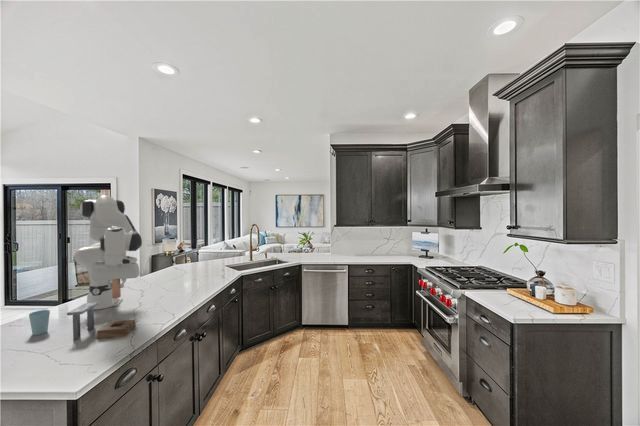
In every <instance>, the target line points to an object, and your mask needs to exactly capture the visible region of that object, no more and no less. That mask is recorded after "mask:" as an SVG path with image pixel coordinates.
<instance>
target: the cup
mask: <svg viewBox="0 0 640 426" xmlns="http://www.w3.org/2000/svg"><path fill="white" fill-rule="evenodd" d="M50 313H51V310H50V309H43V310H42V309H40V310H37V311H32V312H30V313H29V314H28V318H29V322H30V328H31V332H32V335H33V336H39V335H43V334H46V333H47V332H48V329H49V321H50Z"/></svg>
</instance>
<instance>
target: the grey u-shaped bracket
mask: <svg viewBox="0 0 640 426" xmlns="http://www.w3.org/2000/svg"><path fill="white" fill-rule="evenodd" d="M97 305H98V302H95V303H87V302H85V303H82V304H81V305H79V306H77V307H75V308H74V309H72V310H70V311H68V312H66V316H72V339H73V341H75V340H76V341H78V340H79V339H81V336H82V335H81V315H83V314H85V313H87V314H86V317H87V319H86V321H87V323H86V324H87V331H91V330H93V329H95V319H94V318H95V310H94V307H95V306H97Z"/></svg>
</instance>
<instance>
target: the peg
mask: <svg viewBox="0 0 640 426" xmlns="http://www.w3.org/2000/svg"><path fill="white" fill-rule="evenodd" d="M111 282H112V298H122V294H121V290H122V288H119V287H120V286H119V285H120V284H121V279H112V280H111Z"/></svg>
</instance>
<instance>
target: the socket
mask: <svg viewBox="0 0 640 426" xmlns="http://www.w3.org/2000/svg"><path fill="white" fill-rule="evenodd" d="M136 322H137V321H136V319H126V320H115V321H113V320H112V321H108V322H107V323H106V324H104V325H103V326H102V327H100V328H98V329H97V330H96V334H97V335H96V336H97V340H104V339H115V338H123V337H124V338H125V337H127V336H129V334H130V333H131V332H132V331H133V330H134V329H135V328H136V327H137V324H136Z"/></svg>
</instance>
